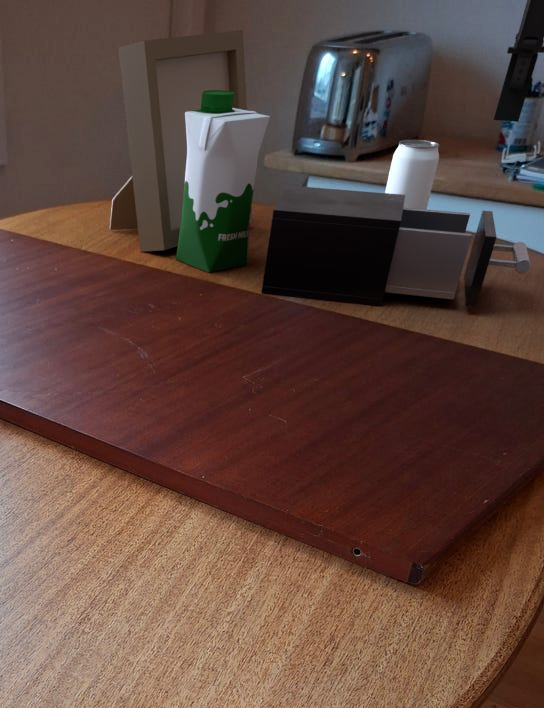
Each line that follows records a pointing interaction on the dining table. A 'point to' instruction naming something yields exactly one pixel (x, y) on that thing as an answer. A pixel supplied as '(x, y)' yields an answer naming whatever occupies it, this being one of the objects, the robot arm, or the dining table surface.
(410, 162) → the can
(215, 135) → the milk carton
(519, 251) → the drawer
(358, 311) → the dining table surface
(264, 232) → the dining table surface
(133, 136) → the photo frame
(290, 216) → the cabinet
